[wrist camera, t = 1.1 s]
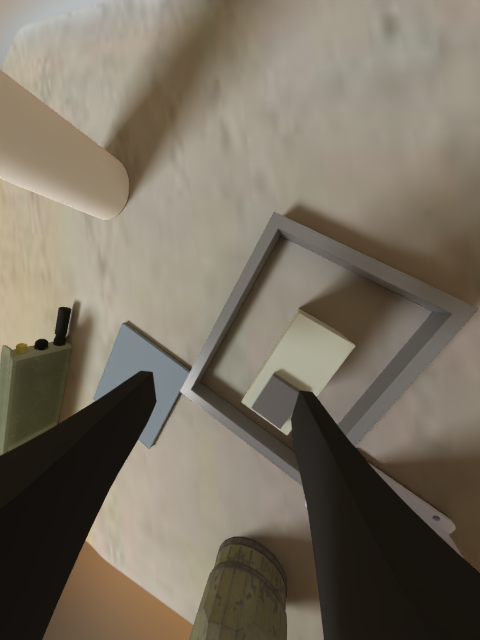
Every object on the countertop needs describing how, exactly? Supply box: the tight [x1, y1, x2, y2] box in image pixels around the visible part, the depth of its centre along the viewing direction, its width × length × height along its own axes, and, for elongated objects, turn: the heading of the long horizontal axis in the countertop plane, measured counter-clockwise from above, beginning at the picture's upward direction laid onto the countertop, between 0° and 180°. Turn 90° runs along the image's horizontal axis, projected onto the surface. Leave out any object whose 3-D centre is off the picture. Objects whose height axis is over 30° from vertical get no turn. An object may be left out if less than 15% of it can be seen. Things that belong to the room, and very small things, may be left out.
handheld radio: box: [0, 307, 72, 455], centre depth 27 cm, size 7×3×25 cm
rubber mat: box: [93, 323, 191, 449], centre depth 25 cm, size 11×13×1 cm
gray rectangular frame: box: [180, 212, 479, 486], centre depth 18 cm, size 16×20×2 cm
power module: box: [242, 308, 356, 435], centre depth 16 cm, size 4×8×7 cm, turn 151°
